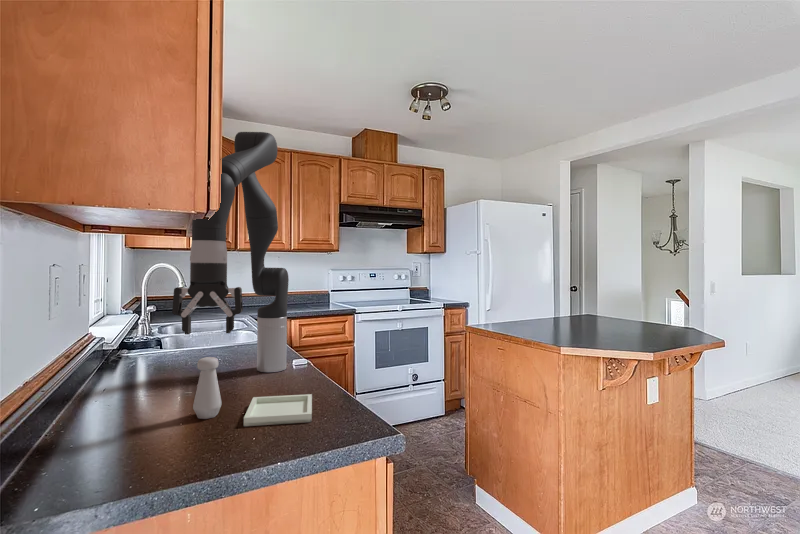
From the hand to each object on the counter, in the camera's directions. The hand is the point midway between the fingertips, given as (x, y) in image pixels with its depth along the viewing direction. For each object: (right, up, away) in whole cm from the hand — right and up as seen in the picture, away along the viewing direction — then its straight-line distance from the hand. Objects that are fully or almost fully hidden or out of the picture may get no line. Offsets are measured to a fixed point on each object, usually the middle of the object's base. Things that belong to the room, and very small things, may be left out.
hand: (208, 333), depth 93 cm
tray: (+16, -19, +2) cm, 24 cm away
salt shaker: (0, -19, 0) cm, 19 cm away
